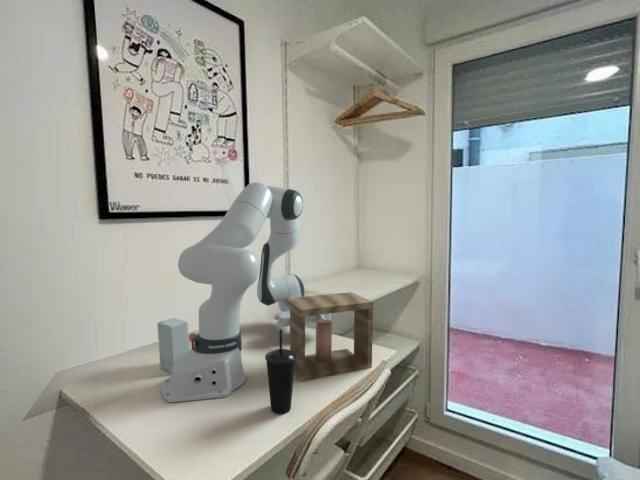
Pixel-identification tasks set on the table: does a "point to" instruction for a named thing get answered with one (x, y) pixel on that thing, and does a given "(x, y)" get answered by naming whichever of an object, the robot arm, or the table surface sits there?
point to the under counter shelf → (340, 359)
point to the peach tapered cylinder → (323, 340)
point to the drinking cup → (280, 377)
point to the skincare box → (172, 341)
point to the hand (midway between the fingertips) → (311, 323)
